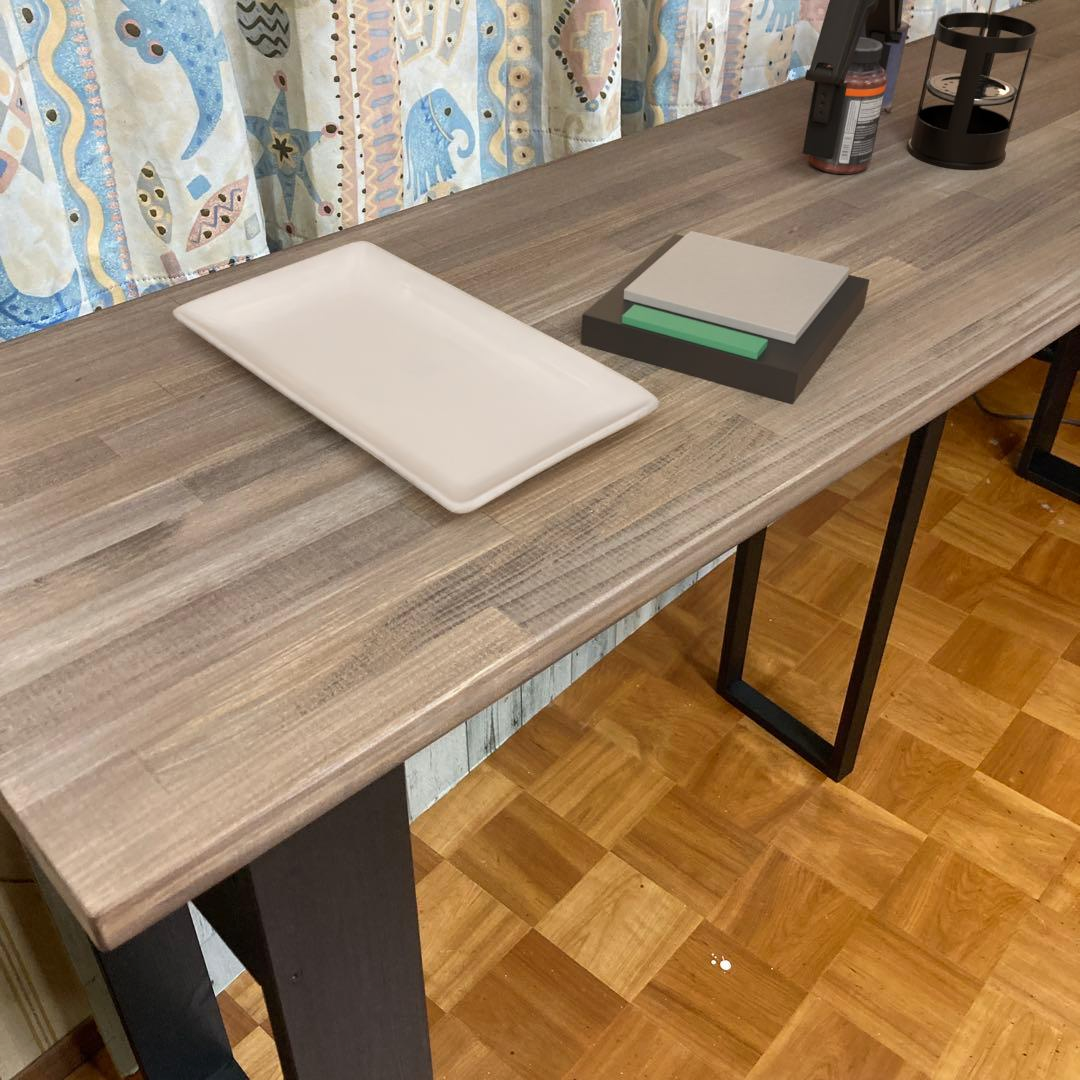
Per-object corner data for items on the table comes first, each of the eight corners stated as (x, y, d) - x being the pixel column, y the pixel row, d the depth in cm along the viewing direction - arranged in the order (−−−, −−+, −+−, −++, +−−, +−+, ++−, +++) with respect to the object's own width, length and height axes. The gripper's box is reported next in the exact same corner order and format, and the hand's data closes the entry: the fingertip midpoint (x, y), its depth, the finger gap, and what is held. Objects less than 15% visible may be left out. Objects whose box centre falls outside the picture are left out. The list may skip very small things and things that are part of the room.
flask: (896, 112, 121) (918, 5, 115) (874, 116, 121) (895, 8, 114) (844, 87, 128) (861, -15, 121) (823, 91, 127) (839, -12, 120)
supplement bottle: (795, 158, 110) (814, 36, 103) (847, 151, 112) (869, 30, 105) (828, 180, 106) (850, 54, 99) (881, 172, 108) (907, 48, 101)
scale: (863, 308, 86) (871, 269, 84) (792, 404, 75) (800, 362, 73) (672, 261, 92) (675, 224, 90) (580, 344, 81) (582, 303, 79)
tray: (458, 558, 62) (456, 508, 60) (174, 348, 80) (164, 303, 78) (664, 443, 71) (668, 396, 69) (367, 278, 89) (363, 236, 87)
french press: (996, 178, 107) (1071, -96, 92) (897, 162, 110) (954, -106, 96) (1012, 140, 115) (1083, -117, 101) (919, 125, 118) (975, -126, 104)
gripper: (887, -146, 104) (843, 90, 117) (796, -104, 87) (756, 166, 100) (970, -137, 101) (914, 103, 114) (892, -93, 84) (838, 184, 97)
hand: (840, 133), depth 107 cm, fingers open, 13 cm apart
